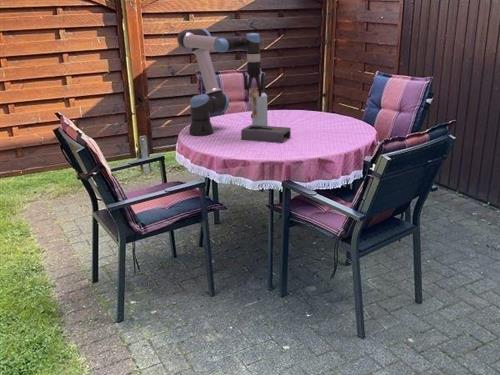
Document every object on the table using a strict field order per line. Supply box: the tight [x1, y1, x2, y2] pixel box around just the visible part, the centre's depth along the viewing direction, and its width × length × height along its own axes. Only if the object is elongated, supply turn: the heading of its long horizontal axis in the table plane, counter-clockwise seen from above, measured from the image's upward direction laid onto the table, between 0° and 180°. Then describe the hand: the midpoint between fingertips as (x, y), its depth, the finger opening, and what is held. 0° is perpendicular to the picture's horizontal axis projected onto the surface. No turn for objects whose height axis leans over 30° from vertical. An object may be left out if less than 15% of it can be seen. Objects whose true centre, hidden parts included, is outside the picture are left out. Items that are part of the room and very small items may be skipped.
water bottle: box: [251, 89, 269, 126], centre depth 327 cm, size 10×10×25 cm
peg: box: [248, 87, 259, 119], centre depth 301 cm, size 5×5×17 cm
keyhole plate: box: [240, 124, 292, 144], centre depth 304 cm, size 26×14×6 cm, turn 66°
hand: (254, 101), depth 301 cm, fingers closed on peg, 4 cm apart
